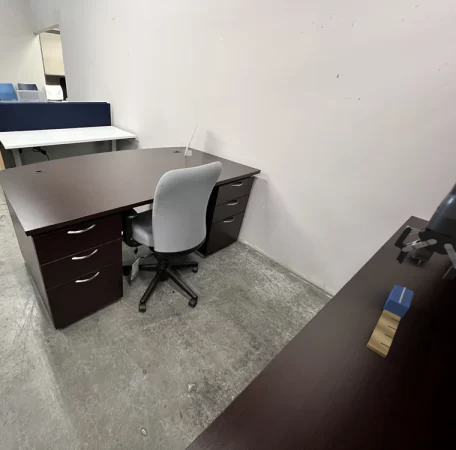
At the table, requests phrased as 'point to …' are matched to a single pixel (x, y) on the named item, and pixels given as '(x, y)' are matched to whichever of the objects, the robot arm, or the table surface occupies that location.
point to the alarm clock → (422, 255)
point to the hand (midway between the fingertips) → (421, 270)
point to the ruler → (383, 333)
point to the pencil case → (399, 300)
